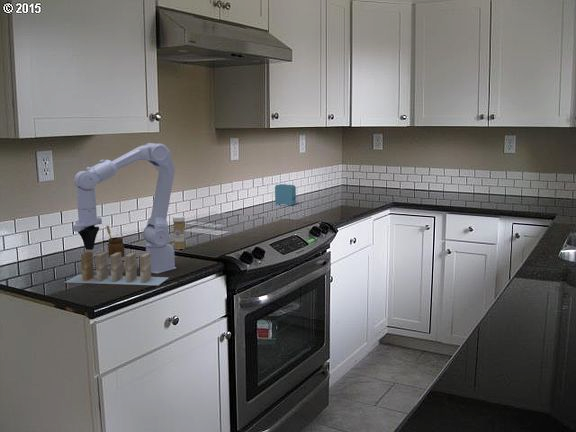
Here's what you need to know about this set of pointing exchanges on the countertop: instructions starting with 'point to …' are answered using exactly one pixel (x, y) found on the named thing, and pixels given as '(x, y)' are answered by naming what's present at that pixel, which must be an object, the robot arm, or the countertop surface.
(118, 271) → the domino
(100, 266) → the domino
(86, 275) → the domino
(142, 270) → the domino
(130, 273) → the domino
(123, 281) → the mat
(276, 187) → the data package
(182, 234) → the sprinkles bottle
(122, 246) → the utensil holder
